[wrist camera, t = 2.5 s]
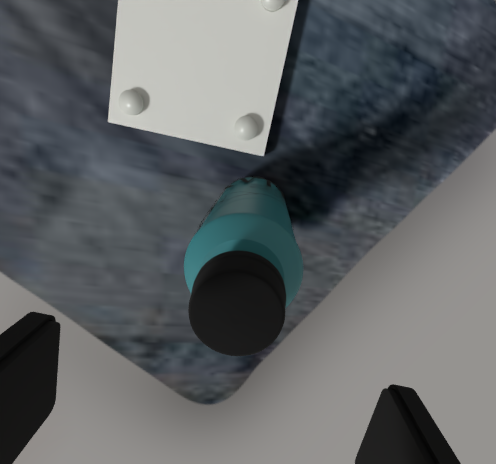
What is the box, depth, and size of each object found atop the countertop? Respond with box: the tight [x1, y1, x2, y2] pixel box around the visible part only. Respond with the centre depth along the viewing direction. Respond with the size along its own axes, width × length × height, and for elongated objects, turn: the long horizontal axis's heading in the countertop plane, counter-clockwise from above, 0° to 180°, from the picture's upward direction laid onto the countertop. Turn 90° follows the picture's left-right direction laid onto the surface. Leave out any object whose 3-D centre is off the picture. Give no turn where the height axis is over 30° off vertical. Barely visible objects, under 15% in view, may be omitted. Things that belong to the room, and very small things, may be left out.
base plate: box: [108, 0, 298, 156], centre depth 27 cm, size 14×14×2 cm
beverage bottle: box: [184, 176, 303, 356], centre depth 22 cm, size 6×7×20 cm
